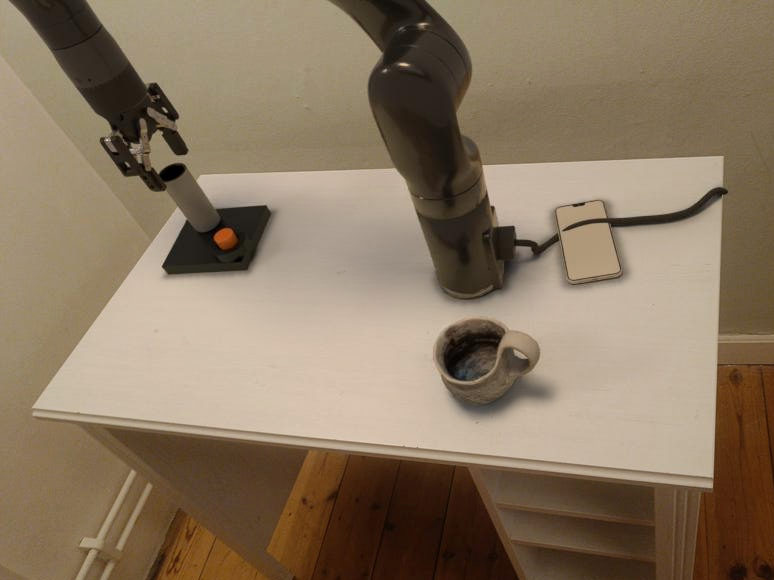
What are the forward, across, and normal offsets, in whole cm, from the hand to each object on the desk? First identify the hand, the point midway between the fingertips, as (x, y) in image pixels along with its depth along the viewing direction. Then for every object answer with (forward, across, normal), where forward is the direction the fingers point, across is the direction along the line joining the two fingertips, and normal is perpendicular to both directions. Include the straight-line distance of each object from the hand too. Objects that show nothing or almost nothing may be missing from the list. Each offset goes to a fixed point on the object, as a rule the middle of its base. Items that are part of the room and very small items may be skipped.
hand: (172, 171), depth 93 cm
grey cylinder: (+10, 0, 0) cm, 11 cm away
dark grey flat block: (+12, -3, -2) cm, 13 cm away
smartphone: (+13, -7, -61) cm, 63 cm away
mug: (+13, -30, -50) cm, 60 cm away
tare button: (+9, -6, -7) cm, 13 cm away
